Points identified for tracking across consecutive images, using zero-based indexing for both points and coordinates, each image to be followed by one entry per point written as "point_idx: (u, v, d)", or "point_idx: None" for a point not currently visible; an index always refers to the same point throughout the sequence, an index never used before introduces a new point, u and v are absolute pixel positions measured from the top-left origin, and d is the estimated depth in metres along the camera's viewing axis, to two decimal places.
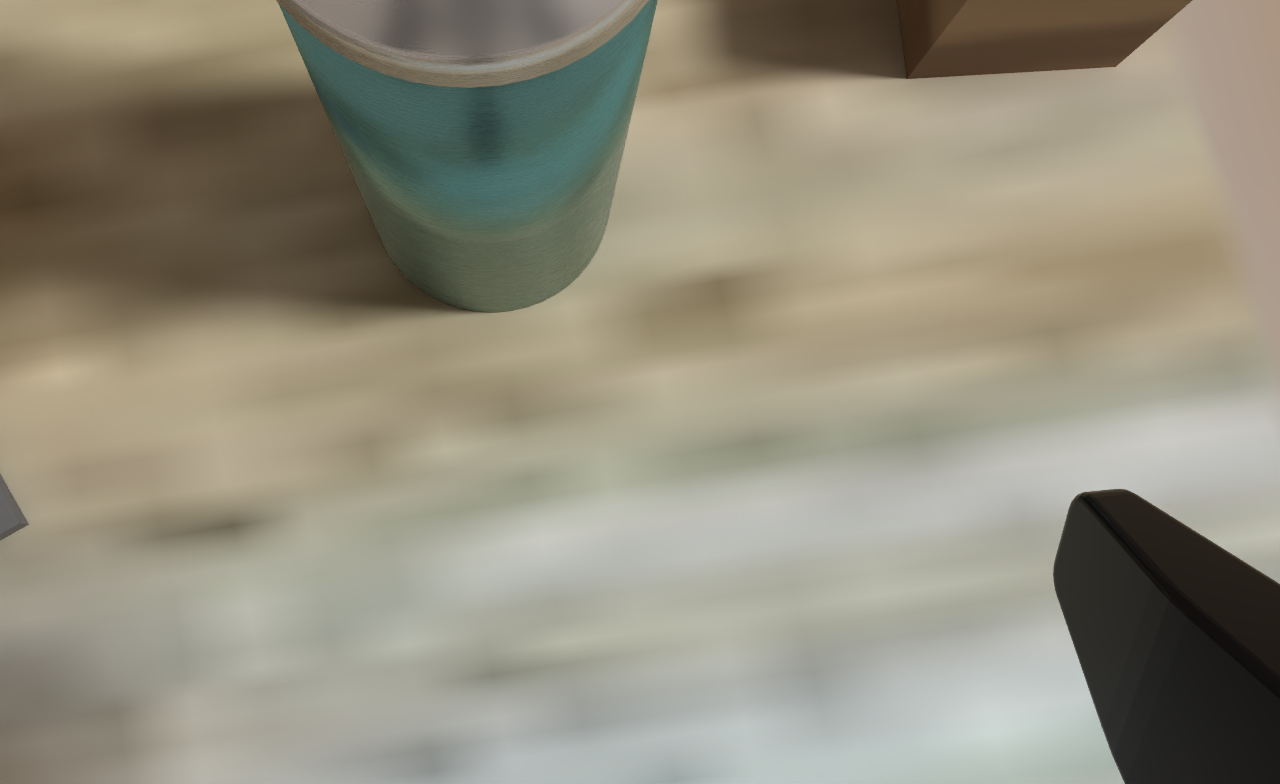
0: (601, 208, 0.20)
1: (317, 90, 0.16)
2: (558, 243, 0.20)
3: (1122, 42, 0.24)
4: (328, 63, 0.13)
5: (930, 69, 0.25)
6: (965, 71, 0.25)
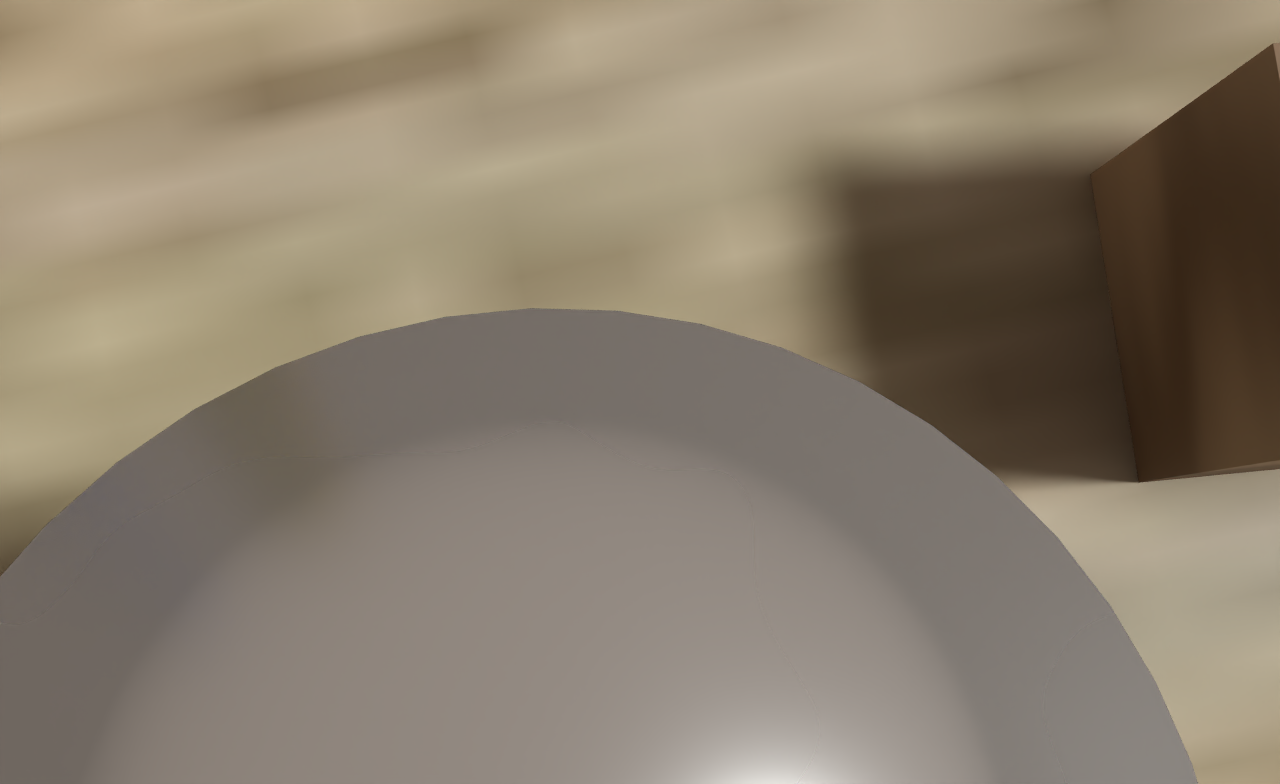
0: None
1: None
2: None
3: None
4: None
5: (1178, 478, 0.17)
6: (1225, 473, 0.17)
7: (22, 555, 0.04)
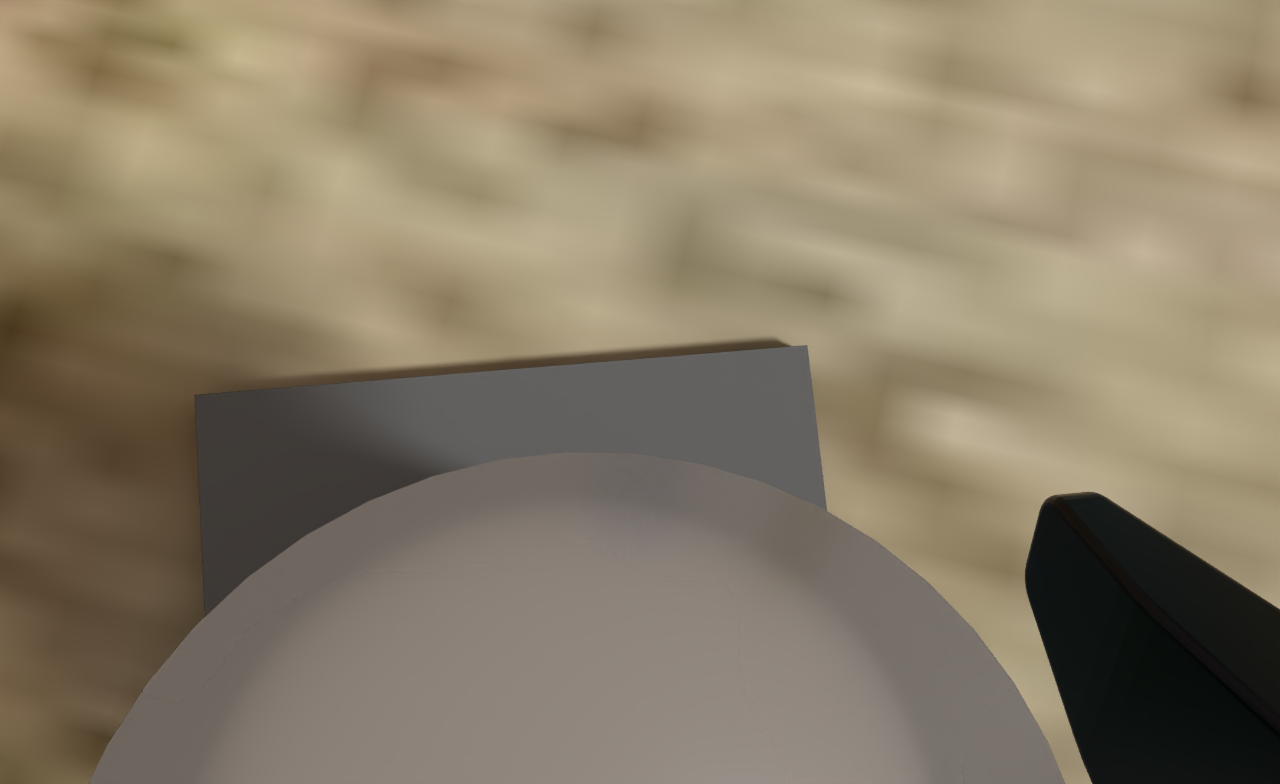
0: None
1: None
2: None
3: None
4: None
5: None
6: None
7: (178, 649, 0.05)
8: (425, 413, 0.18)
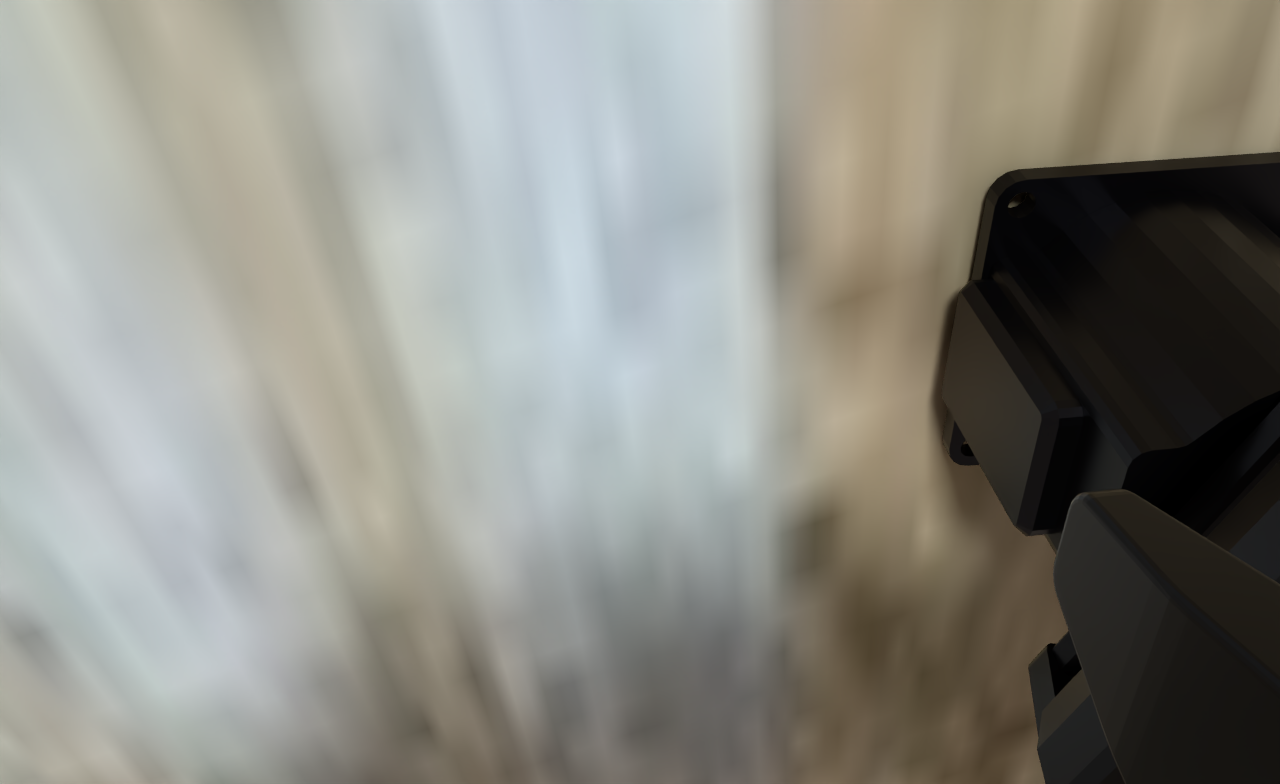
0: None
1: None
2: None
3: None
4: None
5: None
6: None
7: None
8: None
